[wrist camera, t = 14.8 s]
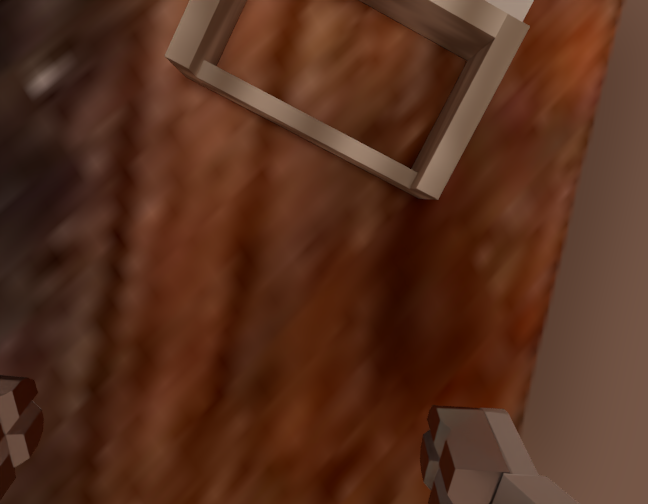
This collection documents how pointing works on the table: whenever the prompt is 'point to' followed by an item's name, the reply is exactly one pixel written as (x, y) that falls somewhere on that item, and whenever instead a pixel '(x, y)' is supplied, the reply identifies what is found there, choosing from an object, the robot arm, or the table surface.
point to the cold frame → (421, 181)
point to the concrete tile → (513, 7)
